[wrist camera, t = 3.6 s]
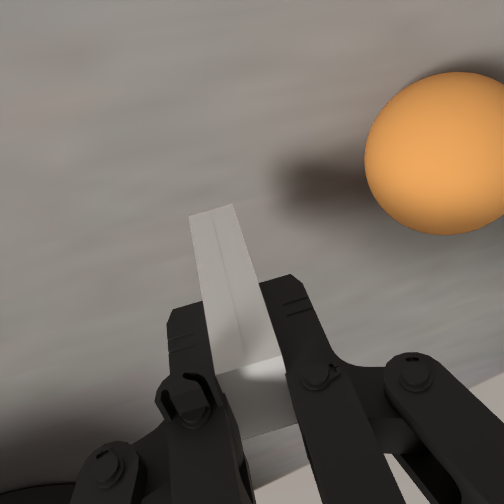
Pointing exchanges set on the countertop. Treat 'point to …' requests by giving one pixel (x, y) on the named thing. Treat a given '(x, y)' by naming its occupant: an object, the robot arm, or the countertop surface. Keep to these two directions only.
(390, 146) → the ball
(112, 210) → the countertop surface
